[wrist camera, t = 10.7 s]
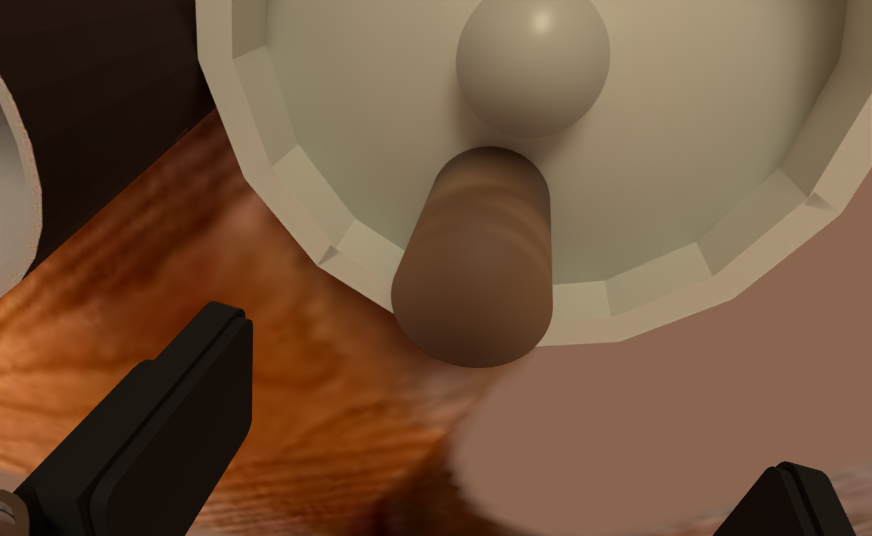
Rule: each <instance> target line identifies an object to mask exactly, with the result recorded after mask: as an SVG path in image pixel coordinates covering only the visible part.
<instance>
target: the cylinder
mask: <svg viewBox="0 0 872 536" xmlns="http://www.w3.org/2000/svg"><path fill="white" fill-rule="evenodd" d="M391 304H392V308H393V312H394V315H395V318H396V320H397V322H398V324H399V326H400V328H401V329H402V330H403V332H404V333H405V335H406V336H407V337H408V338H409V339H410V340H411V341H412V342H413V343H414V344H415V345H416V346H417V347H418V348H420V349H421V350H423V351H424V352H426V353H427V354H429V355H431V356H432V357H434V358H436V359H439V360H441V361H443V362H446V363H450V364H453V365H457V366H462V367H471V368H486V367H494V366H499V365H503V364H506V363H509V362H512V361H514V360H516V359H518V358H520V357H522V356H524V355H525V354H527V353H528V352H529V351H531V350H532V349H533V348H534V347H535V346H536V345H537V344H538V343H539V342H540V341H541V340H542V338H543V337H544V335H545V334H546V332H547V330H548V327H549V325H550V322H551V319H552V313H553V286H552V248H551V211H550V194H549V189H548V186H547V183H546V181H545V179H544V177H543V175H542V174H541V172H540V171H539V169H538V168H537V167H536V166H535V165H534V164H533V163H532V162H531V161H530V160H528V159H527V158H526V157H524V156H522V155H521V154H519V153H517V152H515V151H512V150H509V149H506V148H501V147H494V146H485V147H477V148H472V149H469V150H467V151H464V152H462V153H460V154H458V155H456V156H455V157H453V158H452V159H451V160H450V161H448V162H447V163H446V164H445V165H444V167H443V168H442V169H441V170H440V172H439V173H438V175H437V177H436V179H435V181H434V184H433V186H432V188H431V191H430V193H429V195H428V198H427V200H426V203H425V205H424V207H423V210H422V212H421V214H420V217H419V219H418V221H417V224H416V226H415V228H414V231H413V233H412V236H411V238H410V240H409V243H408V245H407V247H406V250H405V252H404V254H403V257H402V259H401V261H400V264H399V266H398V269H397V271H396V273H395V276H394V278H393V282H392V287H391Z"/></svg>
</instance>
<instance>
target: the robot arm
mask: <svg viewBox="0 0 872 536" xmlns="http://www.w3.org/2000/svg"><path fill="white" fill-rule="evenodd" d="M252 364H253V322H252V320H249V319H246V318H245V312H244V310H242V309H240V308H236V307H233V306H229V305H225V304H222V303H218V302H215V301H212V302H209V303H208V304H207V305H206V306H205V307H204V308H203V309H202V310H201V311H200V312H199V313H198V314H197V315H196V316H195V317H194V318H193V319H192V320H191V322H190V323H189V324H188V325H187V326H186V327H185V328H184V329H183V330H182V331H181V332H180V333H179V334H178V335H177V336H176V338H175V339H174V340H173V341H172V342H171V343H170V344H169V345H168V346H167V347H166V348H165V349H164V350H163V351H162V352H161V353H160V355H159V356H158V357H157V358H156V359H155V360H145V361H143V362H140V363H139V364H138V365H137V366H136V367H134V368H133V369H132V370H131V371H130V372H129V373H128V374H127V375H126V376H125V377H124V378H123V379H122V380H121V382H120V383H119V384H118V385H117V386H116V387H115V388H114V389H113V390H112V391H111V392H110V393H109V394H108V395H107V396H106V397H105V398H104V399H103V400H102V401H101V402H100V403H99V404H98V405H97V406H96V407H95V408H94V409H93V410H92V411H91V412H90V414H89V415H88V416H87V417H86V418H85V419H84V420H83V421H82V422H81V423H80V424H79V425H78V426H77V427H76V428H75V429H74V430H73V431H72V432H71V433H70V434H69V435H68V436H67V437H66V438H65V439H64V440H63V441H62V442H61V443H60V444H59V445H58V447H57V448H56V449H55V450H54V451H53V452H52V453H51V454H50V455H49V456H48V457H47V458H46V459H45V460H44V461H43V462H42V463H41V464H40V465H39V466H38V467H37V468H36V469H35V470H34V471H33V472H32V473H31V474H30V475H29V476H28V477H27V478H26V480H25V481H24V482H23V483H22V484H21V485H20V486H19V487H18V488H17V489H16V490H15V491H14V492H13V493H11V492H8V491H6V490H3V489H0V536H185V535H186V533H187V531H188V530H189V528H190V527H191V525H192V523H193V522H194V520H195V518H196V517H197V515H198V514H199V512H200V510H201V509H202V507H203V506H204V504H205V502H206V501H207V499H208V497H209V496H210V494H211V493H212V491H213V489H214V488H215V486H216V485H217V483H218V481H219V480H220V478H221V477H222V475H223V473H224V472H225V470H226V468H227V467H228V465H229V464H230V462H231V460H232V459H233V457H234V456H235V454H236V452H237V451H238V449H239V448H240V446H241V444H242V443H243V441H244V439H245V438H246V436H247V434H248V431H249V429H250V426H251V421H252ZM713 536H856V534H855V532H854V530H853V528H852V526H851V524H850V522H849V520H848V518H847V515H846V513H845V511H844V509H843V507H842V505H841V503H840V501H839V499H838V496H837V494H836V492H835V490H834V488H833V486H832V484H831V482H830V480H829V478H828V477H827V475H826V474H825V473H823V472H822V471H819V470H816V469H812V468H809V467H805V466H802V465H798V464H794V463H791V462H786V461H784V462H781V463H780V464H778V465H777V466H776V467H773V466H772V467H769V468H767V469H766V470H765V472H764V473H763V474H762V475H761V476H760V478H759V479H758V480H757V481H756V483H755V484H754V485H753V486H752V488H751V489H750V490H749V491H748V493H747V494H746V495H745V496H744V497H743V499H742V500H741V501H740V502H739V504H738V505H737V506H736V507H735V509H734V510H733V511H732V512H731V514H730V515H729V516H728V517H727V519H726V520H725V521H724V522H723V523H722V525H721V526H720V527H719V528H718V530H717V531H716V532H715V533H714V535H713Z"/></svg>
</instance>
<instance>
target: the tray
mask: <svg viewBox="0 0 872 536" xmlns="http://www.w3.org/2000/svg"><path fill="white" fill-rule="evenodd" d="M196 23H197V49H198V60H199V63H200V65H201V68H202V71H203V73H204V76H205V78H206V81H207V83H208V86H209V89H210V91H211V94H212V96H213V99H214V101H215V104H216V106H217V109H218V112H219V114H220V117H221V119H222V122H223V124H224V127H225V130H226V132H227V135H228V137H229V140H230V142H231V145H232V148H233V150H234V153H235V155H236V158H237V160H238V163H239V166H240V168H241V171H242V173H243V176H244V178H245V180H246V181H247V182H248V183H249V184H250V186H251V187H252V188H253V189H254V190H255V192H256V193H257V194H258V195H259V196H260V198H261V199H262V200H263V201H264V202H265V204H266V205H267V206H268V207H269V208H270V210H271V211H272V212H273V213H274V214H275V216H276V217H277V218H278V219H279V220H280V222H281V223H282V224H283V225H284V226H285V228H286V229H287V230H288V231H289V232H290V234H291V235H292V236H293V237H294V239H295V240H296V241H297V242H298V243H299V245H300V246H301V247H302V248H303V249H304V251H305V252H306V253H307V254H308V255H309V257H310V258H311V259H312V260H313V261H314V263H315V264H316V265H317V266H318V267H320V268H321V269H323V270H325V271H326V272H328V273H329V274H331V275H333V276H334V277H336V278H337V279H339V280H341V281H342V282H344V283H345V284H347V285H348V286H350V287H352V288H353V289H355V290H356V291H358V292H360V293H361V294H363V295H364V296H366V297H368V298H369V299H371V300H372V301H374V302H376V303H377V304H379V305H380V306H382V307H383V308H385V309H387V310H388V311H390V312H391V313H393V314H394V312H393V308H392V304H391V287H392V282H393V278H394V276H395V273H396V271H397V269H398V266H399V264H400V261H401V259H402V257H403V254H404V252H405V250H406V247H407V245H408V243H409V240H410V238H411V236H412V233H413V231H414V228H415V226H416V224H417V221H418V219H419V217H420V214H421V212H422V210H423V207H424V205H425V203H426V200H427V198H428V195H429V193H430V191H431V188H432V186H433V184H434V181H435V179H436V177H437V175H438V173H439V172H440V170H441V169H442V168H443V167H444V165H445V164H446V163H447V162H448V161H450V160H451V159H452V158H453V157H455V156H456V155H458V154H460V153H462V152H464V151H467V150H469V149H472V148H477V147H485V146H494V147H501V148H506V149H509V150H512V151H515V152H517V153H519V154H521V155H522V156H524V157H526V158H527V159H528V160H530V161H531V162H532V163H533V164H534V165H535V166H536V167H537V168H538V169H539V171H540V172H541V174H542V175H543V177H544V179H545V181H546V183H547V186H548V189H549V194H550V211H551V248H552V286H553V313H552V319H551V322H550V325H549V327H548V330H547V332H546V334H545V335H544V337H543V338H542V340H541V341H540V342H539V343H538V344H537V345H536V346H535V347H541V346H559V345H575V344H594V343H611V342H620V341H623V340H626V339H628V338H631V337H634V336H636V335H639V334H642V333H644V332H647V331H649V330H652V329H655V328H658V327H660V326H663V325H666V324H668V323H671V322H674V321H676V320H679V319H681V318H684V317H687V316H689V315H692V314H695V313H697V312H700V311H703V310H705V309H708V308H711V307H713V306H716V305H719V304H721V303H724V302H727V301H729V300H732V299H733V298H735V297H736V296H737V295H738V294H740V293H741V292H742V291H744V290H745V289H746V288H747V287H749V286H750V285H751V284H752V283H754V282H755V281H756V280H758V279H759V278H760V277H761V276H763V275H764V274H765V273H766V272H768V271H769V270H770V269H772V268H773V267H774V266H775V265H777V264H778V263H779V262H780V261H782V260H783V259H784V258H785V257H787V256H788V255H789V254H791V253H792V252H793V251H794V250H795V249H797V248H798V247H799V246H801V245H802V244H803V243H804V242H806V241H807V240H808V239H810V238H811V237H812V236H813V235H815V234H816V233H817V232H818V231H820V230H821V229H822V228H823V227H825V226H826V225H827V224H828V223H830V222H831V221H832V220H833V219H835V218H836V217H837V216H839V215H840V214H841V213H842V212H843V210H844V208H845V207H846V205H847V204H848V202H849V201H850V199H851V198H852V196H853V195H854V193H855V192H856V190H857V189H858V187H859V186H860V184H861V182H862V181H863V179H864V178H865V176H866V175H867V173H868V171H869V170H870V169H871V167H872V0H196Z"/></svg>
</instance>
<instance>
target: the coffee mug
mask: <svg viewBox="0 0 872 536" xmlns="http://www.w3.org/2000/svg"><path fill="white" fill-rule="evenodd" d="M215 107H216V104H215V101H214V99H213V96H212V94H211V91H210V89H209V86H208V83H207V81H206V78H205V76H204V73H203V71H202V68H201V65H200V63H199V60H198V49H197V23H196V0H0V298H1V297H2V296H3V295H4V294H6V293H7V292H8V291H9V290H10V289H12V288H13V287H14V286H15V285H17V284H18V283H19V282H20V281H21V280H23V279H24V278H25V277H26V276H27V275H28V274H29V273H30V272H32V271H33V270H34V269H35V268H36V267H37V266H38V265H39V264H41V263H42V262H43V261H44V260H45V259H46V258H47V257H48V256H49V255H51V254H52V253H53V252H54V251H55V250H56V249H57V248H58V247H60V246H61V245H62V244H63V243H64V242H65V241H66V240H67V239H69V238H70V237H71V236H72V235H73V234H74V233H75V232H76V231H77V230H79V229H80V228H81V227H82V226H83V225H84V224H85V223H86V222H88V221H89V220H90V219H91V218H92V217H93V216H94V215H95V214H97V213H98V212H99V211H100V210H101V209H102V208H103V207H104V206H106V205H107V204H108V203H109V202H110V201H111V200H112V199H113V198H114V197H116V196H117V195H118V194H119V193H120V192H121V191H122V190H123V189H125V188H126V187H127V186H128V185H129V184H130V183H131V182H132V181H134V180H135V179H136V178H137V177H138V176H139V175H140V174H141V173H142V172H144V171H145V170H146V169H147V168H148V167H149V166H150V165H151V164H153V163H154V162H155V161H156V160H157V159H158V158H159V157H160V156H162V155H163V154H164V153H165V152H166V151H167V150H168V149H169V148H170V147H172V146H173V145H174V144H175V143H176V142H177V141H178V140H179V139H181V138H182V137H183V136H184V135H185V134H186V133H187V132H188V131H190V130H191V129H192V128H193V127H194V126H195V125H196V124H197V123H199V122H200V121H201V120H202V119H203V118H204V117H205V116H206V115H207V114H209V113H210V112H211V111H212V110H213V109H214V108H215Z"/></svg>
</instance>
